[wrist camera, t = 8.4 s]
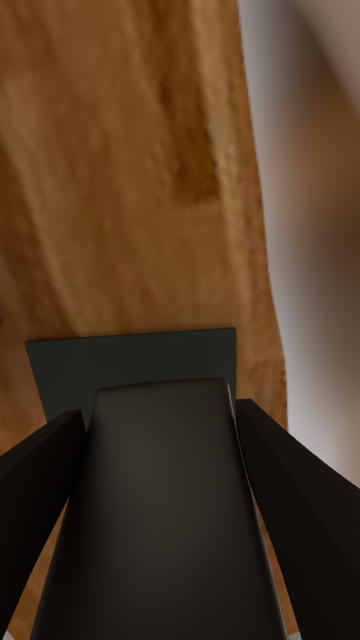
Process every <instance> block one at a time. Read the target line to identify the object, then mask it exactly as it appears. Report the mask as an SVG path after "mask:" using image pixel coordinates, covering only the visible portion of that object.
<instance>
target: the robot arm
mask: <svg viewBox="0 0 360 640" xmlns="http://www.w3.org/2000/svg"><path fill="white" fill-rule="evenodd" d="M236 428H237V433H238V438H239V442H240V447H241V452H242V457H243V462H244V466H245V469H246V473H247V477H248V480H249V483H250V486H251V489H252V491H253V494H254V497H255V499H256V502H257V505H258V507H259V510H260V513H261V515H262V518H263V521H264V524H265V526H266V529H267V532H268V534H269V537H270V540H271V542H272V545H273V548H274V551H275V554H276V557H277V560H278V563H279V566H280V568H281V572H282V575H283V578H284V582H285V585H286V588H287V592H288V595H289V598H290V601H291V605H292V608H293V611H294V615H295V618H296V621H297V625H298V628H299V631H300V635H301V638H302V640H360V489H359V488H358V487H357V486H355V485H354V484H352V483H351V482H349V481H348V480H347V479H345V478H344V477H342V476H341V475H340V474H339V473H337V472H336V471H335V470H333V469H332V468H331V467H329V466H328V465H327V464H326V463H324V462H323V461H322V460H321V459H319V458H318V457H317V456H316V455H314V454H313V453H312V452H311V451H309V450H308V449H307V448H306V447H304V446H303V445H302V444H301V443H300V442H298V441H297V440H296V439H295V438H294V437H293V436H291V435H290V434H289V433H288V432H287V431H286V430H284V429H283V428H282V427H281V426H280V425H279V424H278V423H277V422H276V421H274V420H273V419H272V418H271V417H270V416H269V415H268V414H267V413H266V412H265V411H264V410H262V409H261V408H260V407H259V406H258V405H257V404H256V403H255V402H254V401H253V400H252V399H236ZM85 437H86V429H85V425H84V420H83V416H82V412H81V409H77V410H66V411H65V412H63V413H62V414H60V415H58V416H57V417H55V418H54V419H53V420H51V421H50V422H48V423H47V424H45V425H44V426H43V427H41V428H40V429H38V430H37V431H35V432H34V433H33V434H31V435H30V436H28V437H27V438H26V439H24V440H23V441H21V442H20V443H18V444H17V445H16V446H14V447H13V448H11V449H10V450H8V451H7V452H6V453H4V454H3V455H1V456H0V640H2V639H3V636H4V634H5V632H6V630H7V627H8V625H9V623H10V620H11V618H12V616H13V613H14V611H15V609H16V606H17V604H18V602H19V599H20V597H21V595H22V592H23V590H24V588H25V585H26V583H27V581H28V579H29V576H30V574H31V572H32V570H33V568H34V566H35V564H36V562H37V560H38V557H39V555H40V553H41V551H42V549H43V547H44V545H45V543H46V541H47V539H48V538H49V536H50V534H51V532H52V530H53V528H54V526H55V524H56V522H57V520H58V518H59V516H60V514H61V512H62V510H63V508H64V506H65V504H66V502H67V500H68V498H69V496H70V493H71V490H72V486H73V483H74V480H75V476H76V473H77V469H78V465H79V461H80V457H81V454H82V450H83V445H84V441H85Z"/></svg>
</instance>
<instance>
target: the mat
mask: <svg viewBox="0 0 360 640" xmlns="http://www.w3.org/2000/svg"><path fill="white" fill-rule="evenodd" d="M25 346H26V349H27V353H28V356H29V360H30V363H31V367H32V370H33V374H34V377H35V381H36V384H37V388H38V391H39V395H40V398H41V402H42V405H43V409H44V413H45V416H46V420H47V423H48V422H50V421H51V420H53V419H54V418H55V417H57V416H58V415H60V414H62V413H63V412H65V411H66V410H77V409H81V412H82V416H83V420H84V425H85V429H86V433H87V429H88V425H89V421H90V416H91V412H92V407H93V403H94V398H95V394H96V391H97V390H98V389H100V388H106V387H112V386H118V385H125V384H133V383H142V382H151V381H161V380H174V379H188V378H214V377H222V378H224V379H225V380H226V381H227V383H228V385H229V389H230V395H231V401H232V406H233V412H234V417H235V422H236V329H235V328H234V327H233V328H218V329H203V330H187V331H172V332H157V333H142V334H127V335H111V336H96V337H81V338H66V339H50V340H35V341H27V342H25Z"/></svg>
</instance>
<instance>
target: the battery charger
mask: <svg viewBox="0 0 360 640" xmlns="http://www.w3.org/2000/svg"><path fill="white" fill-rule="evenodd" d="M30 640H288V635H287V631H286V627H285V622H284V618H283V614H282V609H281V605H280V601H279V596H278V592H277V588H276V584H275V580H274V576H273V572H272V568H271V564H270V560H269V556H268V552H267V548H266V544H265V540H264V536H263V532H262V528H261V524H260V520H259V516H258V512H257V509H256V505H255V501H254V497H253V493H252V489H251V486H250V483H249V480H248V477H247V473H246V469H245V466H244V462H243V457H242V452H241V447H240V442H239V438H238V433H237V428H236V422H235V417H234V412H233V406H232V401H231V395H230V389H229V385H228V383H227V381H226V380H225V379H224V378H222V377H214V378H188V379H174V380H161V381H151V382H142V383H133V384H125V385H118V386H112V387H106V388H100V389H98V390H97V391H96V394H95V398H94V403H93V407H92V412H91V416H90V421H89V425H88V429H87V433H86V437H85V441H84V445H83V450H82V454H81V457H80V461H79V465H78V469H77V473H76V476H75V480H74V483H73V486H72V490H71V493H70V496H69V500H68V503H67V506H66V510H65V513H64V517H63V521H62V524H61V528H60V531H59V535H58V538H57V542H56V545H55V549H54V552H53V556H52V559H51V563H50V567H49V570H48V574H47V577H46V581H45V584H44V588H43V592H42V595H41V599H40V602H39V606H38V610H37V613H36V617H35V621H34V625H33V629H32V632H31V636H30Z"/></svg>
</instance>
